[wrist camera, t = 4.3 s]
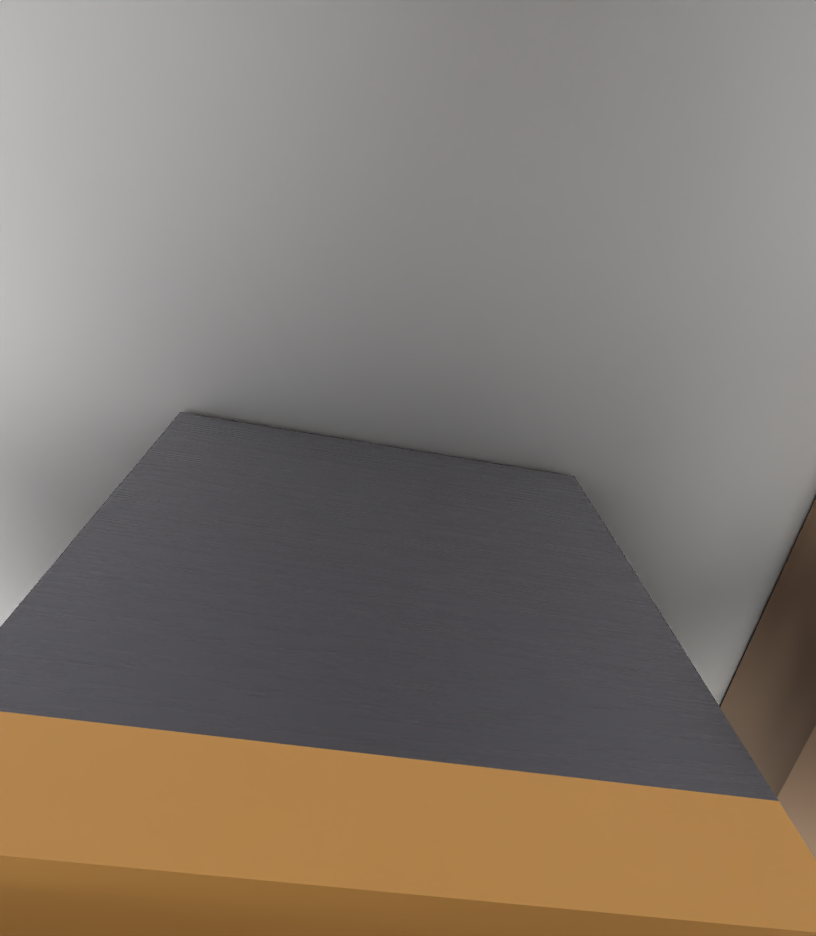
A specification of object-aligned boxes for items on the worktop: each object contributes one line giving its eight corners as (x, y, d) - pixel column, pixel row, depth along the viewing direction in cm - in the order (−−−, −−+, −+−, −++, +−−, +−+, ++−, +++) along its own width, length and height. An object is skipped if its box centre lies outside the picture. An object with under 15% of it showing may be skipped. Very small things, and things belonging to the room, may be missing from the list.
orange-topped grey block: (180, 412, 10) (-178, 838, 4) (574, 476, 11) (864, 935, 4) (160, 725, 12) (-81, 1327, 6) (485, 764, 13) (587, 1346, 7)
